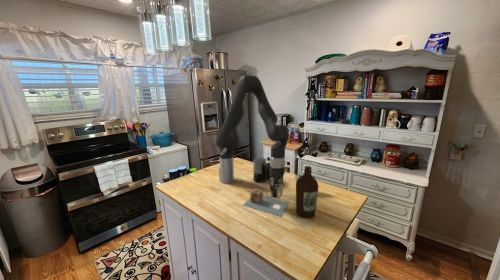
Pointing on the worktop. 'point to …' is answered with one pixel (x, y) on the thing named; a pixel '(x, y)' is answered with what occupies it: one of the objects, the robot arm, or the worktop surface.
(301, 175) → the food container
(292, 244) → the worktop surface
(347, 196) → the worktop surface
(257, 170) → the milk frother
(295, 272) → the worktop surface
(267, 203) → the mat
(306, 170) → the olive oil
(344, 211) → the worktop surface
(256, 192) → the walnut block
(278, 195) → the maple block
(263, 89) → the robot arm
